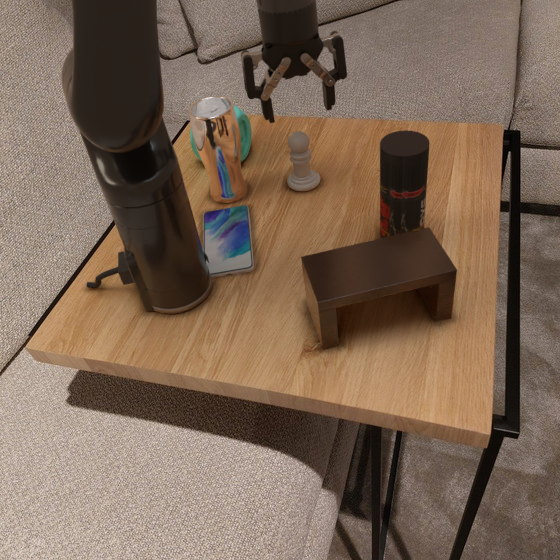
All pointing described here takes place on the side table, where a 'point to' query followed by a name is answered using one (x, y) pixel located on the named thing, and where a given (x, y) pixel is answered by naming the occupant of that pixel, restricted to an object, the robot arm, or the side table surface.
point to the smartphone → (228, 241)
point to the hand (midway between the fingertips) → (299, 114)
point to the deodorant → (403, 182)
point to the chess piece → (301, 163)
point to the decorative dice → (244, 134)
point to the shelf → (377, 277)
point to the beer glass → (219, 146)
